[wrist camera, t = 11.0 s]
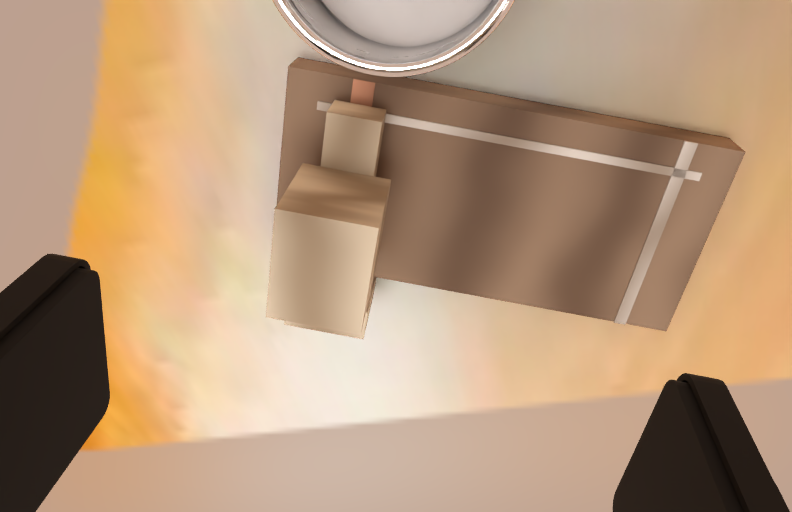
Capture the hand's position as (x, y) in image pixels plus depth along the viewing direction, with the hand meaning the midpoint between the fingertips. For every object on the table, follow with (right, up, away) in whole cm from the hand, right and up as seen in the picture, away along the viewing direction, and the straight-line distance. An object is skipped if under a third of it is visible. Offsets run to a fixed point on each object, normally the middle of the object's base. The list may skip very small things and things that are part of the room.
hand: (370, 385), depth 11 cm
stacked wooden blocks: (-2, +5, +23) cm, 24 cm away
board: (+5, +5, +23) cm, 24 cm away
